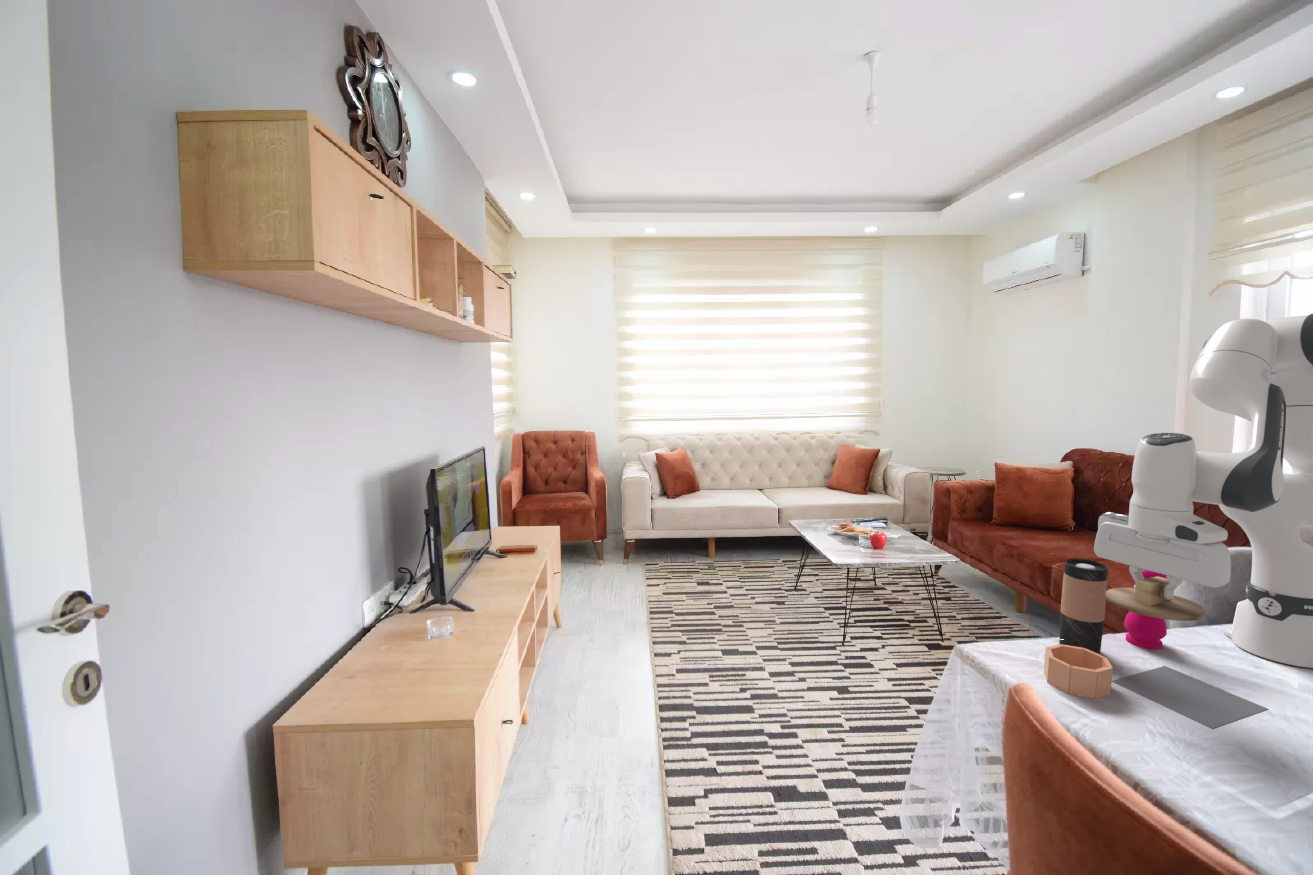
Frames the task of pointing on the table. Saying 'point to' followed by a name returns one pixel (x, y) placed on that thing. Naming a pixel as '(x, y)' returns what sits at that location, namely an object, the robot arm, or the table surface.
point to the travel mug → (1083, 604)
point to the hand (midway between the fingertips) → (1153, 594)
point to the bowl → (1078, 671)
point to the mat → (1190, 696)
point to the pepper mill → (1145, 625)
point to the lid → (1154, 601)
